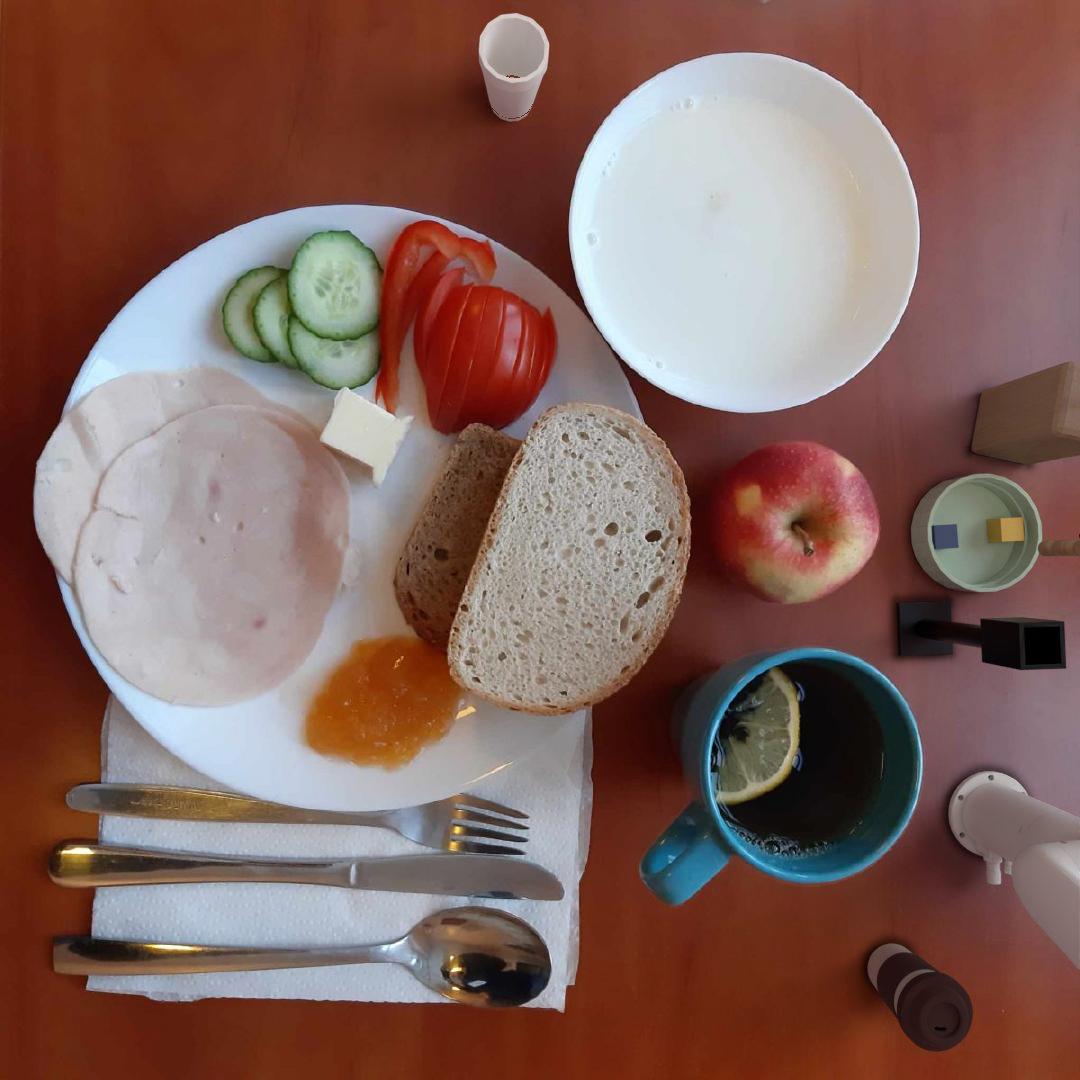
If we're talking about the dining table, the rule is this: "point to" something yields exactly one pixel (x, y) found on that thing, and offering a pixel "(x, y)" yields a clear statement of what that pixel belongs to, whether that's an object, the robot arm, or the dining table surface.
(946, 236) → the dining table surface
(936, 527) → the navy block
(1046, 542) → the stick
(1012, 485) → the bowl
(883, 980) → the coffee cup
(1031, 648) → the holder
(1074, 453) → the wooden block
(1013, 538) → the mustard block
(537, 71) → the foam cup
